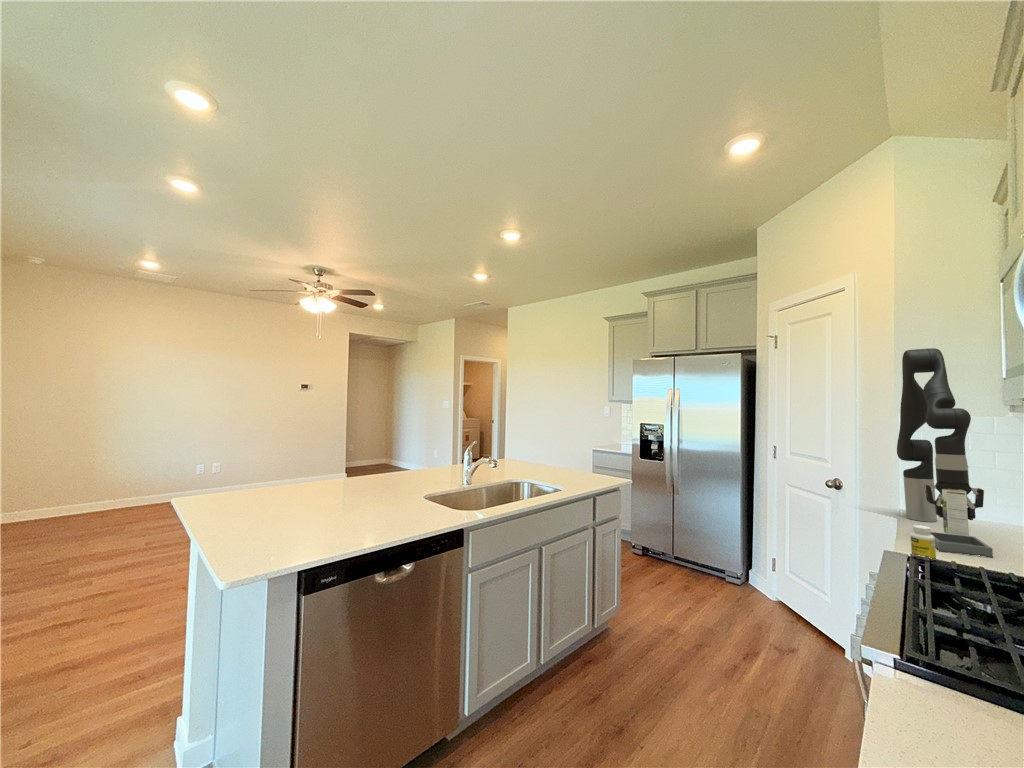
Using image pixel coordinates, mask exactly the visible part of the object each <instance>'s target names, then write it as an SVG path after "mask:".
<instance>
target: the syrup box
mask: <svg viewBox="0 0 1024 768" xmlns="http://www.w3.org/2000/svg"><path fill="white" fill-rule="evenodd" d="M941 496H942V505H941V506H942V508H943V518H942V525H943V533H945V534H955V535H964V536H970V534H969V533H970V531H969V519H968V510H967V508H968V506H967V497H968V495H967V496H966V491H964V490H963V491H962V490H957V489H942V495H941Z"/></svg>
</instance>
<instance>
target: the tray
mask: <svg viewBox="0 0 1024 768" xmlns="http://www.w3.org/2000/svg"><path fill="white" fill-rule="evenodd" d="M930 534H931V535H933V536H934V538H935V550H937V552H940V551H942V553H948V552H950V553H949V554H956V553H962V554H961V555H964V554H969V555H968V556H972V555H980V556H986V557H985V558H988V557H990V558H991V559H993V558H994V556H993V548H992V547H991V546H989V545H988V544H987V543H985V542H984V541H982V540H980V539H979V538H978V537H976V536H971V535H969V536H966V535H958V534H950V533H945V532H936V531H935V532H934V531H931V533H930ZM980 556H979V557H980Z"/></svg>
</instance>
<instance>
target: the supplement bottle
mask: <svg viewBox="0 0 1024 768" xmlns="http://www.w3.org/2000/svg"><path fill="white" fill-rule="evenodd" d="M912 530H913V531H912V532H910V547H911V551H910V552H911V555H912V554H914V555H920V556H927V557H930V558H932V559H936V560H937V556H936V555H937V554H936V550H937V549H936V548H935V538H934V536H933V535H931V534H930V533H931V532H932V528H931V527H929V526H927V525H921V524H917V525H916V524H913V525H912Z"/></svg>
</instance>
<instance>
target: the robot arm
mask: <svg viewBox="0 0 1024 768" xmlns="http://www.w3.org/2000/svg"><path fill="white" fill-rule="evenodd" d="M901 359H902V361H901V362H902V363H901V365H902V366H901V368H902V372H901V373H902V374H901V375H902V390H901V400H900V409H899V410H900V411H899V413H900V416H899V419H900V420H899V430H898V438H897V444H896V455H897V457H898V459H900V460H901V461H904V462H918V463H919V462H920V464H919V465H917V466H914V467H911V468H907V469H904V470H903V471H902V474H903V488H904V502H905V517H906V519H909V520H913V521H918V522H929V523H931V522H933V523H934V522H935V523H936V522H938V520H937V516H938V518H942V519H943V508H942V489H957V490H962V491H963V490H964V491H966V496H967V510H968V521H973V520H975V519H976V509H978V508H983V507H984V498H985V497H984V496H985V490H984V489H982V488H979V487H977V488H976V487H971V485H970V479H969V477H970V476H969V465H968V459H967V455H966V453H967V452H966V437H967V432H968V429H969V428H970V424H971V422H972V421H971V420H972V417H971V414H970V412H969V411H967V410H966V409H964V408H960V407H958V408H957V407H956V408H955V406H956V399H955V397H954V395H953V391H952V390H951V388H950V384H949V380H948V373H947V368H946V364H945V358H944V355H943V352H942V351H941V350H940V349H938V348H936V347H935V348H934V347H933V348H932V347H931V348H918V349H917V348H916V349H914V348H913V349H907V350H905V351H904V352H903V354H902V358H901ZM919 373H920V374H921V373H923V374H924V373H926V374H927V373H933V375H932V376H931V377H930V379H929V380H928V381H927V382H926V383H925V384H924V387H923V388H922V387H921V386H920V384H919V383H918V381H917V379H916V378H915V374H919ZM925 424H926V425H928V426H929V428H932V429H934V430H954V431H953V432H952V433H951V434H949V435H942V436H937V437H935V439H934V448H935V449H933V444H932V442H931V441H930V440H928V439H913V438H912V437H913V435H914V434H915V432H917V431H918V430H919V429H920V428H921V427H923V426H924V425H925ZM934 450H935V458H934ZM934 465H935V474H934ZM934 475H935V476H934ZM935 478H936V483H935ZM935 490H937V491H938V492H939V494H938V495H937V498H936V492H935ZM971 492H972V493H973V495H974V496H975V498H974V503H973V502H972V500H971V499H970V498H969V497H968V495H969V494H970V493H971Z"/></svg>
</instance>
